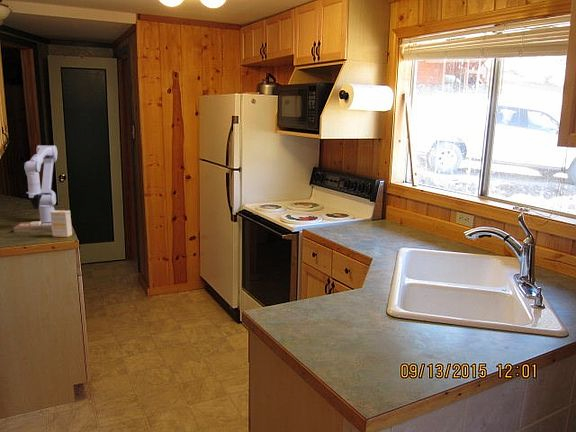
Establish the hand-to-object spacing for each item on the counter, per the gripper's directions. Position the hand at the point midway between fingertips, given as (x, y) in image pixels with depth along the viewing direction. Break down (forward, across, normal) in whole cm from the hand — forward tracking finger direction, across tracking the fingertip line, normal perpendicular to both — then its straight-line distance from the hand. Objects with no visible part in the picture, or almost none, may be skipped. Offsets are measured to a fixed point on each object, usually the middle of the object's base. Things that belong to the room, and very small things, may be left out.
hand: (36, 208), depth 263 cm
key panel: (+10, +3, 0) cm, 11 cm away
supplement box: (+11, +21, +17) cm, 29 cm away
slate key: (+10, +3, +6) cm, 12 cm away
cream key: (+9, +3, 0) cm, 9 cm away
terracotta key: (+10, +3, -6) cm, 12 cm away
